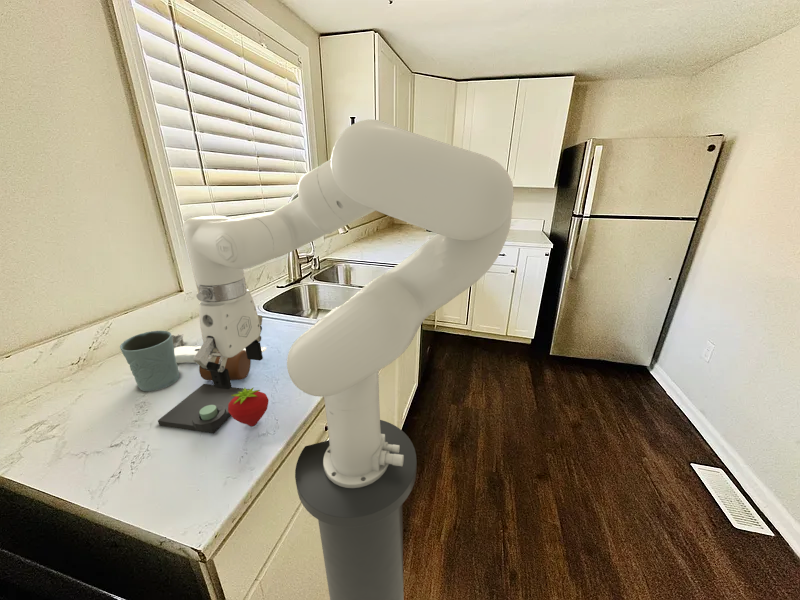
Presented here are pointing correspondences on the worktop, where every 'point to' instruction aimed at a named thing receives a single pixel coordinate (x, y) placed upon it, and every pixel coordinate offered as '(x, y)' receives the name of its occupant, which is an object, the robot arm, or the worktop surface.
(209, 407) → the button
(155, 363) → the green plant pot
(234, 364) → the mug
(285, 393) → the worktop surface
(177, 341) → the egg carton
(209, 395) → the scale
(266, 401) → the strawberry
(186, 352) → the spatula
